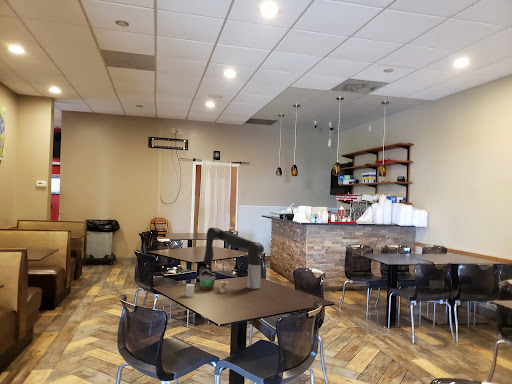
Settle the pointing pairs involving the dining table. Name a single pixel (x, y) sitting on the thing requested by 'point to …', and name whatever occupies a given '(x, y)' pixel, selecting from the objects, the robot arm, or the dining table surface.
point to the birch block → (224, 287)
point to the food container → (206, 283)
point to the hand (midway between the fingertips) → (205, 279)
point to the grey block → (190, 290)
